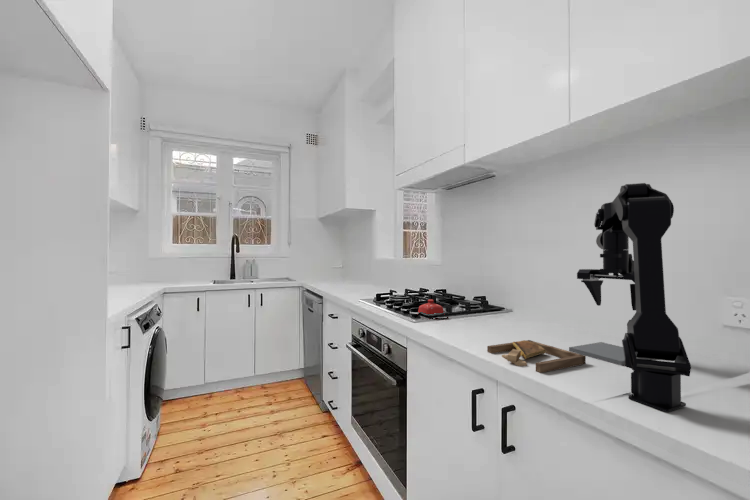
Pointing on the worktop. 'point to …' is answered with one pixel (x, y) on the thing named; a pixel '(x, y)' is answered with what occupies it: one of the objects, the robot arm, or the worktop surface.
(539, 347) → the shard
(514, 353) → the upper oak offcut
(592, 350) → the charcoal mat
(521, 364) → the lower oak offcut
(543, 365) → the walnut open-sided frame
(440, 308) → the butter dish
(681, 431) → the worktop surface
